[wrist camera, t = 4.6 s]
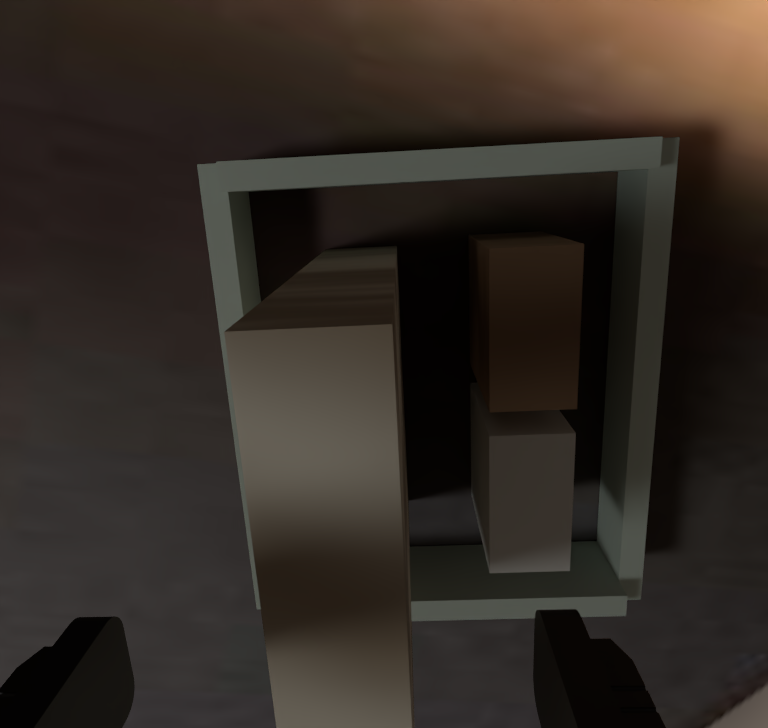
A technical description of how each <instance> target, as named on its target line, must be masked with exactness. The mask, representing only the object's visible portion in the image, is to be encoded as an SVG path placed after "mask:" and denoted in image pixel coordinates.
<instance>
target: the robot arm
mask: <svg viewBox="0 0 768 728" xmlns="http://www.w3.org/2000/svg"><path fill="white" fill-rule="evenodd" d="M533 682H534V693H535V701H536V707H537V712H538V716H539V720H540V724H541V728H666V727H665V725H664V723H663V721H662V719H661V717H660V715H659V713H657V712H656V707H655V705H654V703H653V701H652V699H651V697H650V695H649V693H648V691H646V689H645V684H644V682H643V680H642V678H641V676H640V674H639V672H638V670H637V668H636V666H635V664H634V662H633V660H632V659H631V658H630V657H629V656H628V655H627V654H626V653H625V652H624V651H623V650H622V649H621V648H619V647H618V646H617V645H616V644H615V643H614V642H613V641H612V640H611V639H590V637H589V635H588V632H587V630H586V627H585V625H584V623H583V620H582V618H581V616H580V614H579V612H578V610H576V609H557V610H537V611H536V613H535V631H534V668H533ZM133 697H134V677H133V672H132V667H131V662H130V657H129V652H128V647H127V642H126V637H125V633H124V628H123V624H122V621H121V620H120V618H118V617H79V618H76V619H75V620H73V621H72V622H71V623H70V625H69V626H68V627H67V628H66V630H65V631H64V632H63V634H62V635H61V636H60V637H59V639H58V640H57V641H56V643H55V644H54V645H53V646H52V647H44V648H42V649H41V650H40V651H38V652H37V653H36V654H34V655H33V656H32V657H30V658H29V659H28V660H26V661H25V662H24V663H23V664H21V665H20V666H19V667H17V668H16V669H15V671H14V672H13V673H12V674H11V676H10V677H9V678H8V679H7V680H6V682H5V683H4V684H3V685H2V687H1V688H0V728H122V727H123V725H124V723H125V721H126V719H127V717H128V715H129V712H130V710H131V706H132V702H133Z"/></svg>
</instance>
